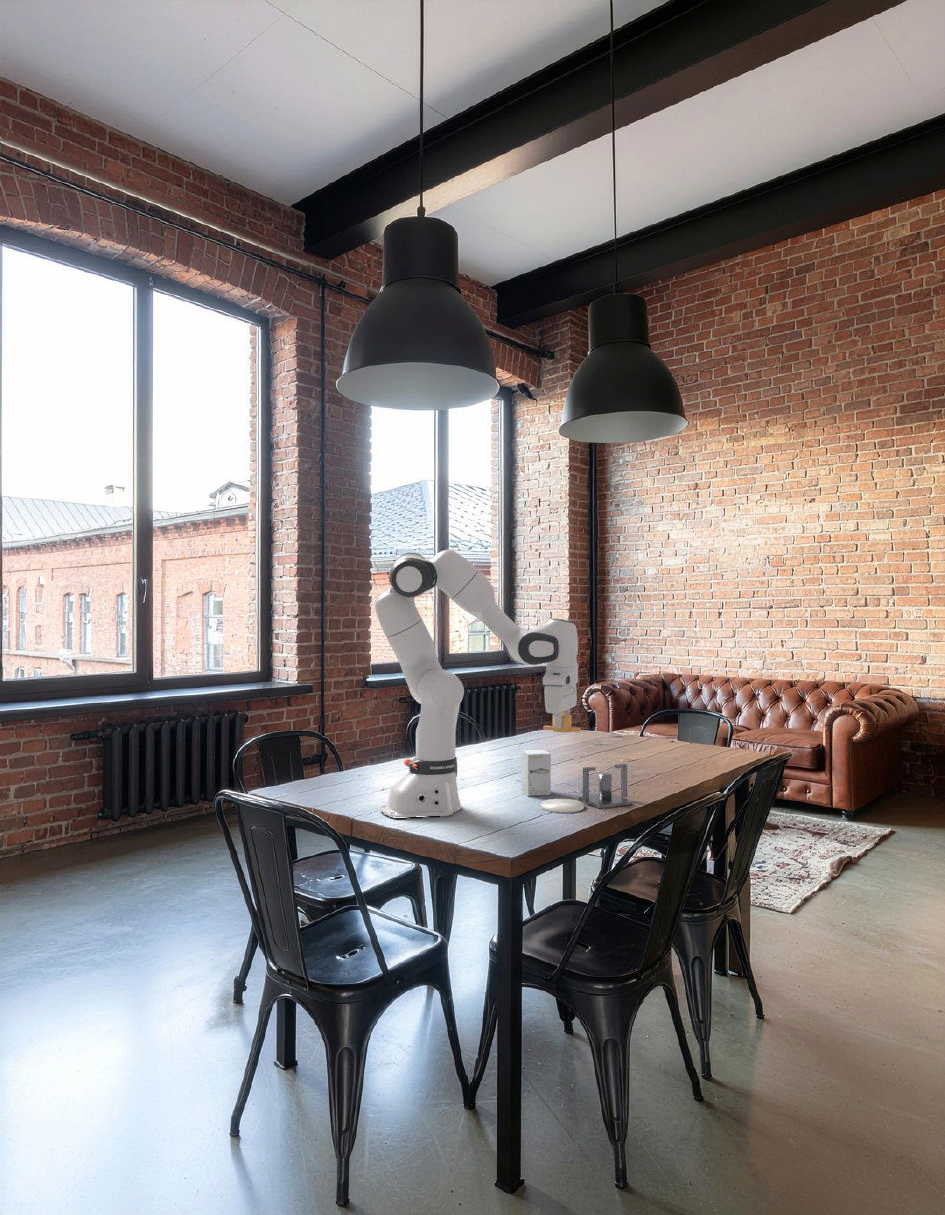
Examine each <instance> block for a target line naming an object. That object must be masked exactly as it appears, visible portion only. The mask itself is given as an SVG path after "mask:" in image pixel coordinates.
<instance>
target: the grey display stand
mask: <svg viewBox="0 0 945 1215" xmlns="http://www.w3.org/2000/svg"><path fill="white" fill-rule="evenodd" d="M596 768H597V767H596V766H587V767H585V766H584V767H582V795H581V796H578V801H581V802H582V801H584V802H583V803H584V804H587V803H588V804H587V805H589V804H590V806H592V807H594V808H597V809H598V808H602V809H609V807H610V808H616V807H615V806H619V807H622V806H621V805H627V806H630V805H629V804H634V803H633V801H632V800H630V799H627V798H628V764H626V763H619V764H618V763H617V764H614V768H615V769H620V796H619V795H618V794H615V793H612V792H613V791H612V790H613V789H612V787H613V786H612V781H613V780H612V779H613V778H612V777H613V776H612V775H613V774H611V773H608V772H607V773H604V772H602V773H599V774H598V794H590V772H593V771H597V769H596Z"/></svg>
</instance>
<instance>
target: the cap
mask: <svg viewBox="0 0 945 1215" xmlns="http://www.w3.org/2000/svg"><path fill="white" fill-rule="evenodd" d="M561 718H562V727H561V728H556V727H555V721H554V717H553V716H552V725H544V726H543V729H542V730H543V731H544V730H545V731H552V732H554V733H571V732H574V733H580V732H581V731H582V729H581V728H582V727H578V726H576V727H574V726H572V714H570V715H569V714H562V715H561Z"/></svg>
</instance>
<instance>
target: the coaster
mask: <svg viewBox="0 0 945 1215" xmlns="http://www.w3.org/2000/svg"><path fill="white" fill-rule="evenodd" d="M540 808H541V809H542V810H543V811H547V812H550V813H559V814H560V813H561V814H564V813H565V814H569V813H571V814H572V813H578V812H582V811H583V810H584V809H585V802H582V801H580V800H579V799H578V800H577V799H573V798H550V799H545V800H542V801H541V803H540ZM581 810H582V811H581Z"/></svg>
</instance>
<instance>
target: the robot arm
mask: <svg viewBox="0 0 945 1215" xmlns="http://www.w3.org/2000/svg"><path fill="white" fill-rule="evenodd" d="M389 583H390V588H388V589H387V590H386V591H383V592H382V593H381V594H380V595H379V596H378V597H377V598H376V600H375V602H374V609H375V613H376V616H377V619H378V622H379V624H380V627H381V628H382V631H383V633H384V636H385V638H386V639H387V642H388V643H389V645H390V647H391V649H392V651H393V653H394V655H395V656H396V659H397V661H398V662H399V666H400V668H401V671H402V673H403V677H404V680H405V682H406V684H407V686H408V690H409V692H410V695H411V696H412V698H413V699H414V700H415V701H416V702H417V703H418V704H420V713H419V720H418V724H417V727H416V729H415V757H414V758H413V759H412V760H411V759H409V758H405V759H404V760H403V765H404V766H406V767H409V768H408V769H409V771H408V772H407V773H406V774H405V775H404V776H403V777H402V778H401V779H399V781H397V782H395V783H394V784H393V785H392V786H391V788H390V790H389V794H388V800H387V803H383V804H381V805H380V807H379V809H380V808H381V810H382V811H383V812H384V813H385V814H387V815H391V816H395V817H416V816H440V817H450V816H452V815H453V814H454V813H456V812H459V811H460V810H461V809H462V805H461V801H460V796H459V791H458V785H457V784H458V783H457V777H458V759H457V756H456V732H457V721H458V718H459V711H460V706H461V702H462V701H463V698H464V695H465V689H464V684H463V682H462V681H461V680H460V678H459V677H458V676H457V675H456V674H455V673H453V672H452V671H448V670H444V668H443V667H442V665H441V664H440V661H439V659H438V655H437V651H436V646H435V642H434V640H433V637H432V635H431V634H430V632H429V630H428V628H427V626H426V624H425V622H424V620H423V619H422V616H421V614H420V612H419V610H418V608H417V606H416V603H415V599H416V597H419V596H421V595H423V594H424V593H426V592H428V591H429V590H431V589H433V588H437V589H439V590H440V591H442V593H444V594H445V595H446V596H447V597H448V598H450V600H451V601H453V603H455V604H456V605H457V606H458V607H459V608H461V609H462V610H464V611H465V612H467V613H469V614H470V615H472V616H473V617H474V618H476V619H478V620H479V621H480V622H482V623H483V624H484V625H485V626H486V627H487V628H488V629H489V630H490V631H491V632H492V633H493V634H494V635H495V636H496V637H497V638H498V639H499V640H500V641H501V643H502V644H503V648H504V649H505V652H506V654H507V656H508V657H509V659H510V660H512V661H513V662H514V663H515V664H520V665H527V666H538V665H539V666H540V665H541V664H546V666H545V673H544V676H543V677H542V685H543V686H544V707H545V711H546V713H547V714H552V718H553V717H554V721H555V727H556V728H561V727H562V718H561V715H562V714H569V715H571V709H573V708H574V707H576V706H577V701H578V696H577V695H578V694H577V684H578V682H579V671H578V670H579V664H578V660H577V659H578V658H577V656H578V651H579V641H578V640H579V638H578V631H577V630H578V629H577V627H576V626H577V625H576V624H575V623H574V622H573V621H570V620H566V619H559V618H549V620H548V621H547V622H545V623H543V624H542V625H539V626H538V627H535V628H532V629H530V630H529V629H525V628H523V627H521V626H518V625H517V624H516V623H515V622H514V621H513V619H511V618H510V617H509V616H508V615H507V614H506V613H505V612H504V611H503V610H502V609H501V608H500V607H499V605H498V604H497V601H496V596H495V589H494V586H493V584H492V583H491V582H490V581H489V579H488V578H487V576H485V575H484V574H483V573H482V571H481V570H479V569H478V568H477V567H476V566H475V565H474V564H473V563H472V562H470V561H469V560H468V559H467V558H465V557H464V556H462V555H461V554H459V553H458V552H456V551H454V549H453V550H452V549H445V550H441V551H440V552H438V553H437V554H435V555H434V556H433V557H432V558H431V559H426V558H425V557H424V556H422V555H421V554H419V553H417V552H406V553H403V554H402V555H400V556H398V557H397V558H396V559H395V560H394V561H393V563H392V565H391V567H390V572H389ZM449 815H450V816H449Z"/></svg>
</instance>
